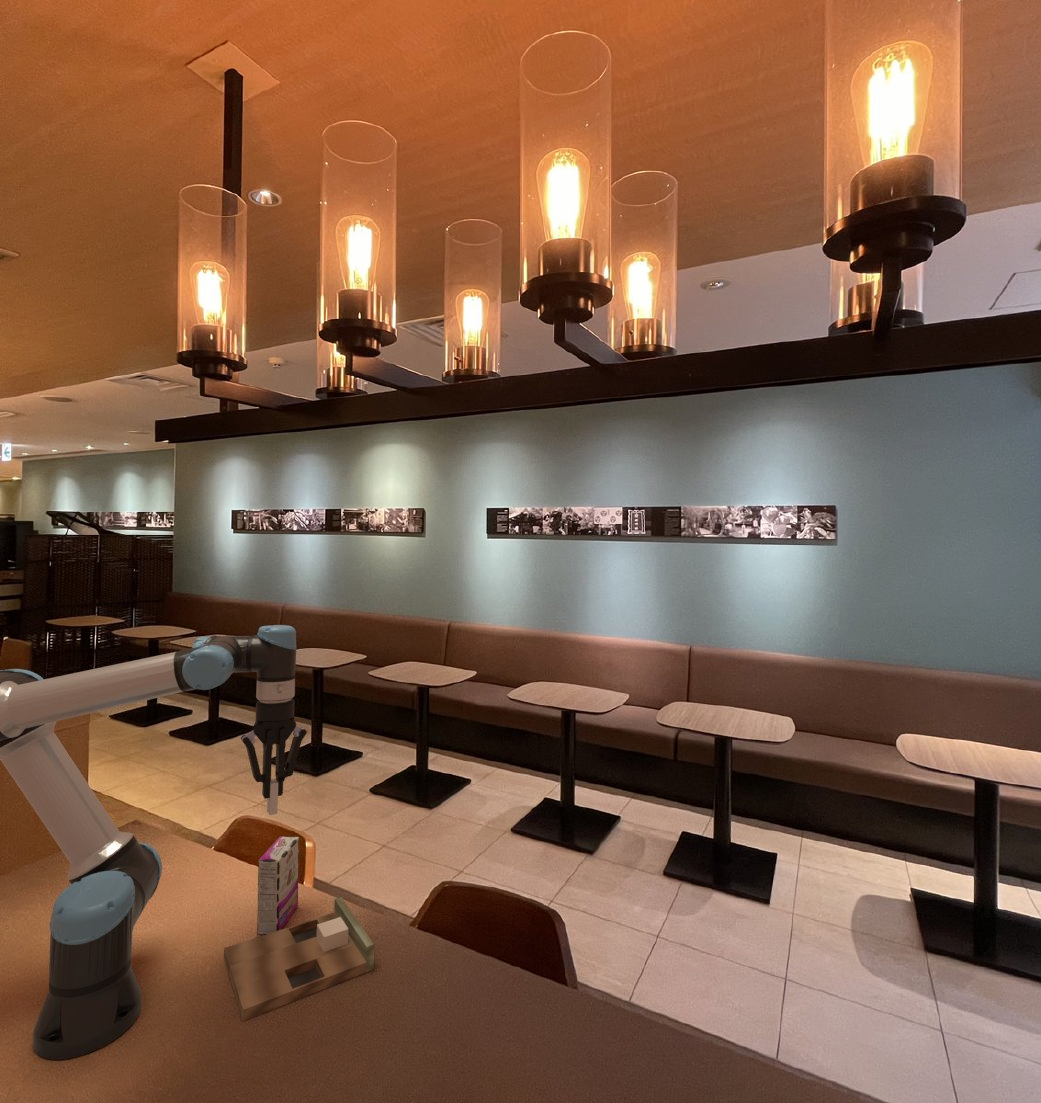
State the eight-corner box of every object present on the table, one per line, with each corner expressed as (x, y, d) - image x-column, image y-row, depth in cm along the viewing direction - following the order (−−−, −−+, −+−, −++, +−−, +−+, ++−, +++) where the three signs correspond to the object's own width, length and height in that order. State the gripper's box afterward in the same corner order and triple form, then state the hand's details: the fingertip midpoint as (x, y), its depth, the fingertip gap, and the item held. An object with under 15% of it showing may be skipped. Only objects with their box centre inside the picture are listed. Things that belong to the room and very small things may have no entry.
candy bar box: (277, 906, 138) (279, 835, 139) (298, 906, 138) (300, 836, 139) (254, 936, 127) (257, 859, 127) (277, 936, 127) (280, 860, 127)
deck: (242, 1021, 103) (243, 992, 104) (223, 958, 120) (224, 933, 120) (373, 969, 117) (374, 944, 117) (340, 919, 134) (341, 897, 134)
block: (323, 952, 119) (324, 937, 119) (316, 939, 123) (316, 924, 123) (347, 943, 122) (348, 929, 122) (340, 931, 126) (340, 916, 126)
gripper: (245, 706, 117) (241, 826, 117) (312, 699, 125) (308, 811, 124) (238, 699, 123) (234, 812, 123) (302, 692, 131) (299, 799, 130)
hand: (272, 812), depth 123 cm, fingers closed
